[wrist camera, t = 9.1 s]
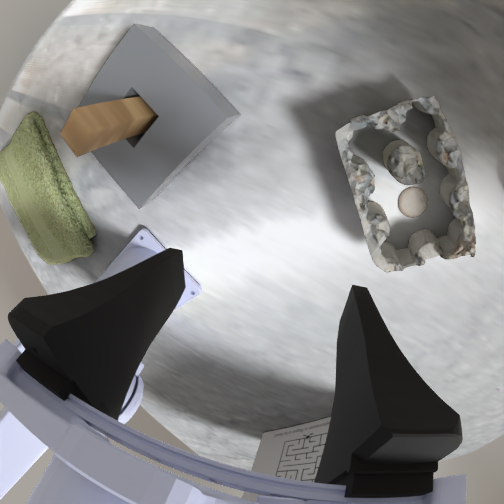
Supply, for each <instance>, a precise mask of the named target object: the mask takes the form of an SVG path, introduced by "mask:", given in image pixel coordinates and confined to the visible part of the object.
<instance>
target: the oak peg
mask: <svg viewBox="0 0 504 504" xmlns="http://www.w3.org/2000/svg"><path fill="white" fill-rule="evenodd" d="M158 117H159V116H158V115H157V114H156V113H155V112H154V111H153V109H152V108H151V107H150V106H149V105H148V104H147V103H146V102H145V101H144V100H143V98H142V97H141V96H140V97H133V98H126V99H120V100H114V101H108V102H102V103H97V104H92V105H87V106H83V107H78V108H74V109H73V110H72V112H71V114H70V116H69V118H68V120H67V122H66V124H65V126H64V128H63V130H62V132H61V136H62V137H63V139H64V140H65V141H66V143H67V144H68V146H69V147H70V148H71V150H72V151H73V152H74V154H75V155H76V156H77V157H78V156H81V155H83V154H86V153H88V152H91V151H93V150H96V149H98V148H101V147H104V146H106V145H109V144H112V143H114V142H117V141H120V140H123V139H126V138H129V137H132V136H135V135H138V134H141V133H144V132H147V130H148V129H149V128H150V127H151V125H152V124H153V123H154V122H155V121H156V119H157V118H158Z"/></svg>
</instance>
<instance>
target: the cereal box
mask: <svg viewBox="0 0 504 504" xmlns="http://www.w3.org/2000/svg"><path fill="white" fill-rule="evenodd" d="M330 420H331V417H327V418H324V419H320V420H317V421H313V422H309V423H305V424H301V425H297V426H293V427H288V428H284V429H279V430H274V431H269V432H264V433H263V435H262V438H261V442H260V445H259V448H258V451H257V454H256V458H255V461H254V464H253V467H252V470H251V471H253V472H258V473H262V474H267V475H271V476H276V477H282V478H287V479H293V480H299V481H306V482H314V480H315V477H316V474H317V471H318V468H319V464H320V461H321V457H322V454H323V450H324V446H325V442H326V438H327V434H328V429H329V424H330ZM258 496H263V495H259V494H254V493H250V492H246V491H244V493H243V497H242V498H243V499H246V500H250V501H253V502H255V501H256V498H257V497H258Z"/></svg>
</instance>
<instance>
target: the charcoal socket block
mask: <svg viewBox="0 0 504 504" xmlns="http://www.w3.org/2000/svg"><path fill="white" fill-rule="evenodd" d="M140 96H141V97H142V98H143V100H144V101H145V102H146V103H147V104H148V105H149V106H150V107H151V108H152V109H153V111H154V112H155V113H156V114H157V115H158V116H159V117H158V118H157V119H156V121H155V122H154V123H153V124H152V125H151V127H150V128H149V129H148V130H147V132H146V133H145V132H144V133H141V134H138V135H135V136H132V137H129V138H126V139H123V140H120V141H117V142H114V143H112V144H109V145H106V146H104V147H101V148H98V149H96V150H93V151H91V152H92V153H93V155H94V156H95V157H96V158H97V160H98V161H99V162H100V163H101V164H102V166H103V167H104V168H105V169H106V171H107V172H108V173H109V174H110V175H111V177H112V178H113V179H114V180H115V181H116V183H117V184H118V185H119V186H120V187H121V189H122V190H123V191H124V192H125V193H126V194H127V196H128V197H129V198H130V199H131V200H132V201H133V203H134V204H135V205H136V206H137V207H138V208H139V209H140V208H142V207H143V206H144V205H146V204H147V203H149V202H150V201H152V200H153V199H154V198H156V197H157V196H158V195H159V194H160V193H161V191H162V190H163V189H164V188H165V187H166V186H167V185H168V184H169V183H170V182H171V181H172V180H173V179H174V178H175V177H176V176H177V175H178V174H179V173H180V171H181V170H182V169H183V168H184V167H185V166H186V165H187V164H188V163H189V162H190V161H191V160H192V159H193V158H194V157H195V156H196V155H197V154H198V153H199V152H200V151H202V150H203V149H204V148H205V147H206V146H207V145H208V144H209V143H210V142H211V141H212V140H213V139H214V138H215V137H216V136H217V135H218V134H219V133H221V132H222V131H223V130H224V129H225V128H226V127H227V126H228V125H229V124H230V123H232V122H233V121H234V120H235V119H236V118H237V117H238V116H239V115H241V114H240V113H239V112H238V111H237V110H236V108H235V107H234V106H233V105H232V104H231V103H230V102H229V101H228V100H227V99H226V98H225V97H224V96H223V94H222V93H221V92H220V91H219V90H218V89H217V88H216V87H215V86H214V85H213V84H212V83H211V82H210V81H209V80H208V79H207V78H206V77H205V76H204V75H203V74H202V73H201V72H200V71H199V70H198V69H197V68H196V67H195V66H194V65H193V64H192V63H191V62H190V61H189V60H188V59H187V58H186V57H185V56H184V55H183V54H182V53H181V52H180V51H179V50H178V49H177V48H176V47H175V46H174V45H173V44H171V43H170V42H169V41H168V40H167V39H166V38H165V37H164V36H163V35H162V34H161V33H160V32H158V31H157V30H156V29H155V28H153V27H148V26H143V25H138V24H134V25H133V26H132V27H131V29H130V30H129V31H128V32H127V34H126V35H125V36H124V38H123V39H122V40H121V41H120V43H119V44H118V46H117V47H116V48H115V50H114V51H113V52H112V54H111V55H110V57H109V58H108V60H107V61H106V63H105V64H104V66H103V67H102V69H101V70H100V72H99V73H98V75H97V76H96V78H95V79H94V81H93V83H92V84H91V86H90V88H89V89H88V91H87V93H86V94H85V96H84V98H83V100H82V101H81V103H80V105H79V107H83V106H87V105H92V104H97V103H102V102H108V101H114V100H120V99H126V98H133V97H140Z"/></svg>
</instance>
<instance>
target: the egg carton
mask: <svg viewBox="0 0 504 504" xmlns="http://www.w3.org/2000/svg"><path fill="white" fill-rule="evenodd" d="M411 103H412V104H413V105H414V106H415V107H416V108H417V109H418V110H419V111H422V112H424V113H428V114H431V115H432V117H433V119H434V122H435V128H434V129H432V130H431V131H430V133H429V134H428V137H427V147H428V150H429V152H430V153H431V155H432V156H433V157H434V158H435V159H437V160H438V161H439V162H440V163H442V164H443V165H445V166H446V167H447V169H448V172H449V174H448V175H446V176H445V177H444V178H443V180H442V182H441V184H440V188H439V189H440V195H441V197H442V199H443V200H444V201H445V203H446V204H447V205H448V206H449V208H450V209H451V210H452V214H453V215H454V216H455V217H456V218H455V219H453V220H452V221H451V223H450V224H449V227H448V231H447V235H445V236H442V237H439V238H436V237H435V235H434V234H433V232H432V231H430V230H427V229H421V230H418V231H416V232H415V233H414V234H412V236H411V237H410V239H409V245H408V247H407V248H405V249H401V250H396V249H395V248H394V246H393V245H391V244H390V243H387V242H384V241H385V240H386V239H387V237H389V231H390V226H389V222H388V220H387V217H386V214H385V212H384V209H383V208H382V207H381V205H379V204H378V203H375V202H370V201H368V197H369V195H370V194H371V193H373V192H374V190H375V186H374V177H375V175H374V174H373V172H372V170H371V169H370V168H369V166H368V164H367V162H366V161H365V160H364V159H362V158H360V157H358V156H353V154H354V153H353V150H352V149H351V148H350V147H349V142H350V140H351V139H352V136H353V130H360V129H363V128H365V127H366V126H367V124H368V123H369V124H371V125H372V126H373V127H374V128H376V129H383V130H387V131H390V132H394V131H397V130H400V125H401V124H402V123H403V122H405V120H406V111H408V110H411V109H412V104H411ZM335 136H336V140H337V145H338V149H339V152H340V156H341V159H342V162H343V165H344V168H345V171H346V174H347V177H348V181H349V184H350V187H351V190H352V192H353V196H354V200H355V204H356V207H357V210H358V213H359V216H360V220H361V224H362V227H363V231H364V235H365V239H366V242H367V245H368V248H369V252H370V255H371V257H372V260H373V262H374V263H375V265H376V266H377V267H379V268H380V269H382V270H383V271H385V272H386V273H388V272H392V271H403V269H404V268H406V267H409V266H413V265H418V266H421V265H424V263H425V261H424V260H425V259H429V258H432V257H435V256H438V255H440V256H441V257H442V258H444V259H454V258H458V257H460V256H465V255H470V254H471V256H470V257H474V255H475V244H476V238H475V226H474V219H473V213H472V210H471V208H470V203H469V190H468V184H467V181H466V178H465V172H464V167H463V163H462V157H461V151H460V149H459V146H458V144H457V142H456V139H455V137H454V135H453V132H452V131H451V129H450V127H449V125H448V122H447V120H446V118H445V116H444V115H443V113H442V111H441V110H440V104H439V102H438V100H437V99H436V97H435V96H434V95H433V96H432V97H421V98H417V99H414V100H412V101H410V100H406V101H403V102H400V103H397V106H394V107H392V108H390V109H389V110H384V111H380V112H378V113H375V114H373V115H371V116H365V115H360V116H358V117H355V118H352V119H351V120H350V123H348V124H346V125H345V126H343V127H342V128H340V129H339V130H337V131H336V135H335ZM402 140H403V139H402ZM402 140H394V141H392V142H390V143H389V144H388V145H387V146H386V147H385V149H384V151H383V162H384V164H385V166H386V167H387V169H388V171H389V172H390V174H391V175H392V176H393V177H394V178H395V179H396V180H397V181H398V182H400V183H402V184H404V185H412V184H416V183H418V184H419V183H421V182H423V181H424V179H425V176H426V171H425V169H424V166H423V162H422V157H421V154H420V153H419V151H418V150H416V149H415V148H414V147H413V146H411V145H409V144H408V143H407V142H405V141H402ZM398 205H399V209H400V211H401V212H402V213H403V214H404V215H405V216H407V217H411V218H414V217H417V216H420V215H421V214H422V213H423V212H424V211H425V209H426V206H427V197H426V194H425V193H424V191H422V190H421V189H419V188H418V187H409V188H407V189H405V190H404V191H403V192H402V193H401V195H400V197H399V203H398Z"/></svg>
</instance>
